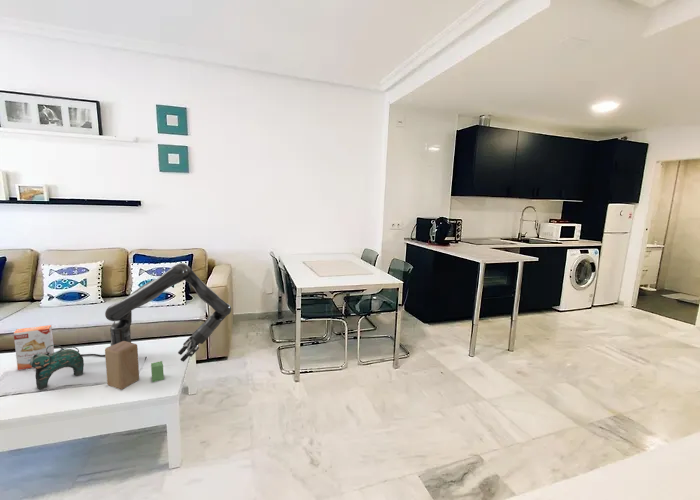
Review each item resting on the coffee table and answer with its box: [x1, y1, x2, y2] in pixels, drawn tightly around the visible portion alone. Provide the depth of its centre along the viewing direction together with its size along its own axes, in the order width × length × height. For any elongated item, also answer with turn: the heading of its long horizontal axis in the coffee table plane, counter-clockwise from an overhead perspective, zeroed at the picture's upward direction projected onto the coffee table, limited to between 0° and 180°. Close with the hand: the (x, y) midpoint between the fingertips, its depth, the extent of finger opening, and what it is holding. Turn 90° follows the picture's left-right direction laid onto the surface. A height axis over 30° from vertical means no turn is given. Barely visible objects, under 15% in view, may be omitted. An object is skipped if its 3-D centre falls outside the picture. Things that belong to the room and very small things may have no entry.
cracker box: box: [13, 324, 55, 371], centre depth 176 cm, size 14×6×21 cm, turn 123°
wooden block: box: [104, 341, 140, 390], centre depth 164 cm, size 10×10×20 cm
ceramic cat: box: [30, 344, 85, 391], centre depth 163 cm, size 20×6×20 cm, turn 149°
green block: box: [150, 360, 165, 383], centre depth 170 cm, size 5×5×8 cm
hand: (180, 357), depth 177 cm, fingers open, 8 cm apart
